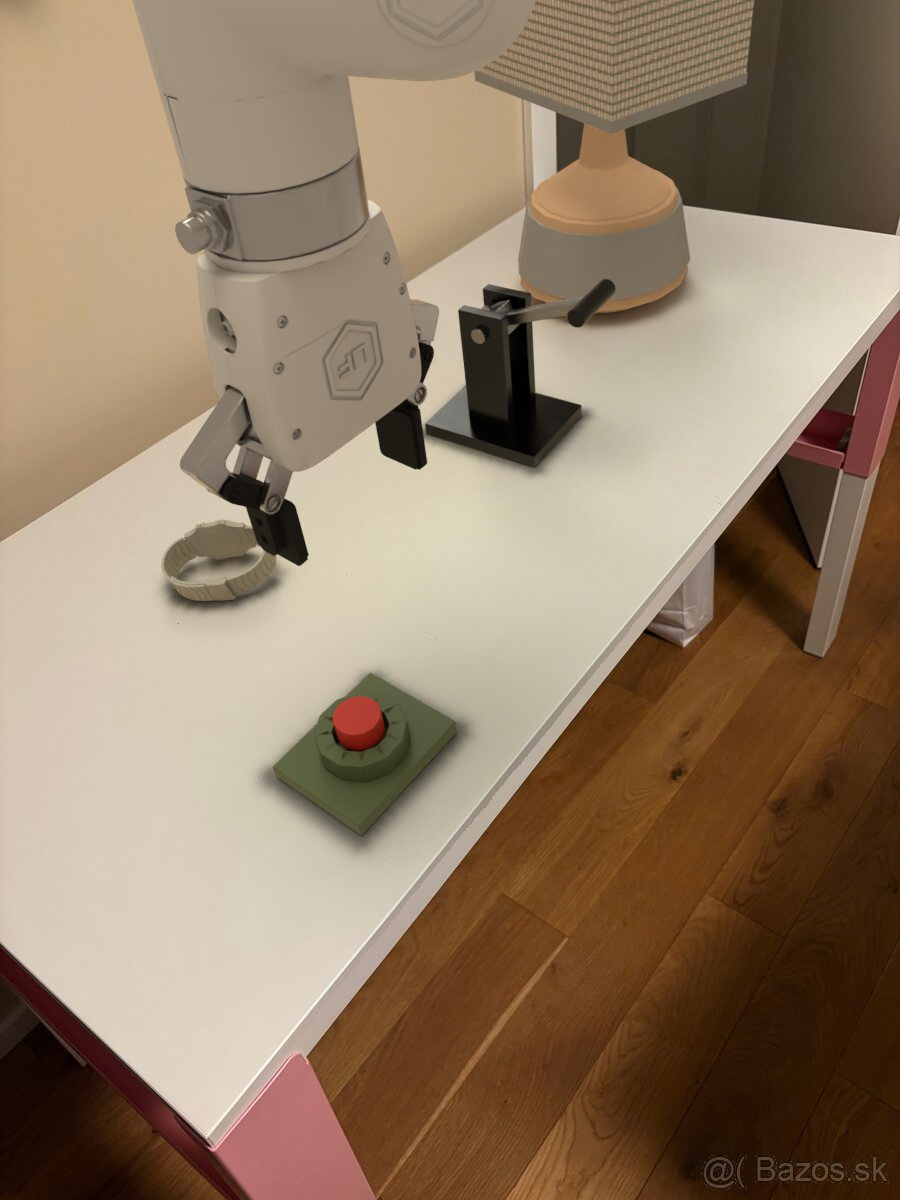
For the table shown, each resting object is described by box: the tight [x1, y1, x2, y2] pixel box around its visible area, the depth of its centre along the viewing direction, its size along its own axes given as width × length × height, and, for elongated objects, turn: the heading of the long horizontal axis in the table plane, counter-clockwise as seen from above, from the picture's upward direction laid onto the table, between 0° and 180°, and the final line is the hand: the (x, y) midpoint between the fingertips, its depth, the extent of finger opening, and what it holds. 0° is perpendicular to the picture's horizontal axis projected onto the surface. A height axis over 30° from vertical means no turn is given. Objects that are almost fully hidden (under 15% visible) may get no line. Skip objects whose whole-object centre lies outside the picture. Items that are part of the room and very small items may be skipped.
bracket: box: [424, 283, 583, 468], centre depth 86 cm, size 12×9×13 cm
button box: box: [272, 672, 458, 836], centre depth 64 cm, size 10×8×3 cm
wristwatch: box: [160, 519, 278, 602], centre depth 77 cm, size 9×6×5 cm
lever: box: [480, 279, 616, 335], centre depth 80 cm, size 12×6×2 cm, turn 56°
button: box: [333, 696, 385, 751], centre depth 63 cm, size 3×3×2 cm
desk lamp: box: [474, 0, 755, 315], centre depth 95 cm, size 22×19×37 cm
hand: (347, 504), depth 53 cm, fingers open, 9 cm apart
